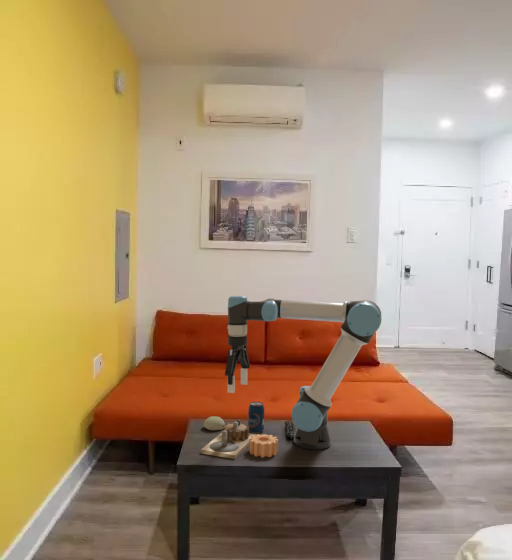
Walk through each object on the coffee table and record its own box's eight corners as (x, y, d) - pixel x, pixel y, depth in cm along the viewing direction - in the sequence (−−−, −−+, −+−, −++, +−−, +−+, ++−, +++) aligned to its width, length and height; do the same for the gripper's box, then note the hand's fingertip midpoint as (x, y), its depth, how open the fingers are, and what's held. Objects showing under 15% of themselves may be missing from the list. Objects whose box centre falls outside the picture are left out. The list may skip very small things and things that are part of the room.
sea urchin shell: (226, 420, 222) (224, 411, 216) (224, 437, 217) (222, 428, 211) (206, 419, 223) (204, 410, 217) (203, 435, 218) (201, 427, 212)
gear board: (256, 437, 207) (256, 420, 206) (235, 459, 184) (235, 439, 184) (225, 433, 211) (225, 415, 211) (200, 453, 188) (201, 434, 188)
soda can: (245, 432, 213) (246, 404, 213) (251, 427, 220) (251, 400, 219) (260, 434, 211) (261, 406, 210) (265, 429, 217) (266, 402, 217)
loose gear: (281, 448, 195) (281, 436, 195) (272, 459, 185) (273, 446, 185) (254, 444, 199) (255, 432, 199) (245, 454, 188) (245, 441, 188)
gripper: (240, 330, 208) (240, 380, 209) (215, 339, 185) (216, 395, 186) (257, 331, 206) (257, 381, 207) (234, 340, 182) (234, 397, 183)
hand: (237, 388), depth 196 cm, fingers open, 13 cm apart
